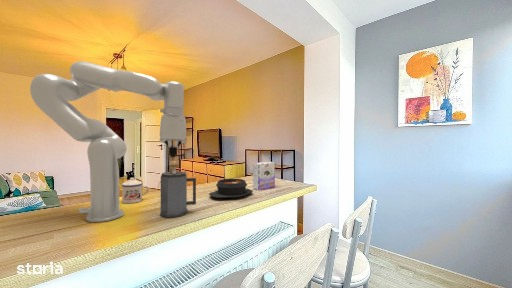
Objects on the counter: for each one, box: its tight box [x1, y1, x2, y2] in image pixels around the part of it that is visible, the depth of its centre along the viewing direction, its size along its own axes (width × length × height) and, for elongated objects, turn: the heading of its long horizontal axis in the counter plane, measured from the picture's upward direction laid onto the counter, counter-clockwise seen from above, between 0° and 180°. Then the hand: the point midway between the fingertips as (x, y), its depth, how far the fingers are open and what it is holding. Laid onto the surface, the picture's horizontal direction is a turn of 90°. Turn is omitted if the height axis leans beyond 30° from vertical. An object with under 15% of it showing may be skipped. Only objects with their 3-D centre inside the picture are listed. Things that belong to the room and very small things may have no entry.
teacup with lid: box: [121, 177, 150, 204], centre depth 113 cm, size 12×9×12 cm
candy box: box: [252, 161, 276, 191], centre depth 144 cm, size 14×6×16 cm, turn 128°
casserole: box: [208, 178, 254, 199], centre depth 125 cm, size 25×19×8 cm
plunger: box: [169, 160, 180, 174], centre depth 95 cm, size 8×8×20 cm
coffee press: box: [159, 170, 197, 219], centre depth 96 cm, size 14×11×17 cm
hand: (173, 156), depth 95 cm, fingers closed
